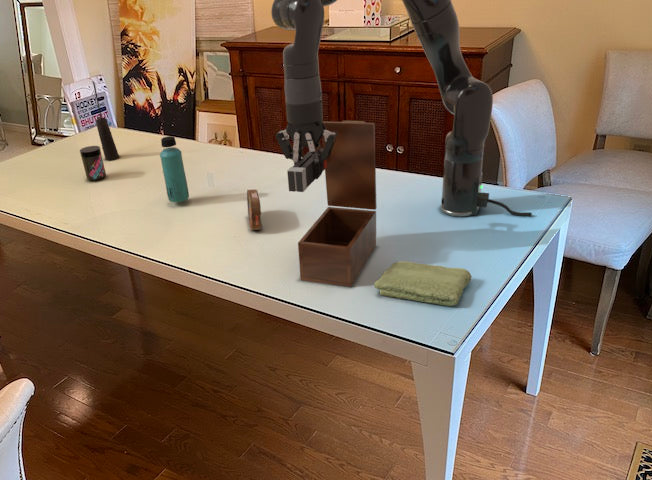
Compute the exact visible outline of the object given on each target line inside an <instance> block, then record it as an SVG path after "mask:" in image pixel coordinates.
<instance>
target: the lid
mask: <svg viewBox="0 0 652 480" xmlns="http://www.w3.org/2000/svg"><path fill="white" fill-rule="evenodd" d="M323 124H324V126H325V128H326V130H328V131H330V132H332V133H333V132H337V138H336V140H335V143H334V146H333V149H332V151H331V154H330V156H329V157H328V158H327V168H326V169H325V170H324V175H325V188H326V201H327V207H337V208H348V209H359V210H371V211H377V175H376V173H377V170H376V135H375V134H376V132H375V130H376V129H375V122H366V121H364V120H342V121H327V120H326V121H324V120H323ZM321 139H322V148H324V147H325V145H326V142H325V140H324V139H325V137H324V135H323V136H322V137H321Z"/></svg>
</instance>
